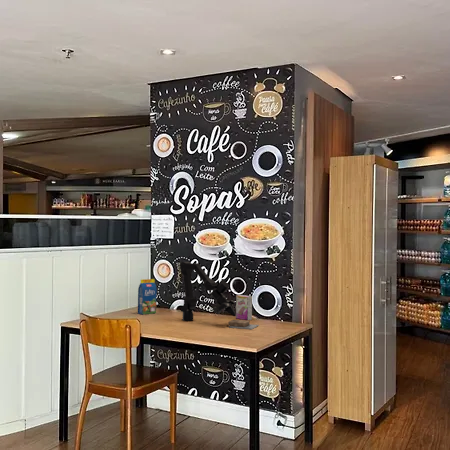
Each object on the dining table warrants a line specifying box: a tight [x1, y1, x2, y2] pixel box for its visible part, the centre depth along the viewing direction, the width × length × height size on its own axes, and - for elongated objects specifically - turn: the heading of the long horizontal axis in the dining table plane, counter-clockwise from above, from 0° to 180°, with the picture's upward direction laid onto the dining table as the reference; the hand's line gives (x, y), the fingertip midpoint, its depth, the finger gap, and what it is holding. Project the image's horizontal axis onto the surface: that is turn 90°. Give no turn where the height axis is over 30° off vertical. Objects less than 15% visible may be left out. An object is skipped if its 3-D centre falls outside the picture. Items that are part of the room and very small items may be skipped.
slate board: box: [228, 323, 260, 330], centre depth 365 cm, size 15×16×1 cm
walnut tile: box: [227, 319, 251, 327], centre depth 366 cm, size 3×10×11 cm
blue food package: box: [137, 278, 158, 315], centre depth 416 cm, size 6×12×25 cm, turn 130°
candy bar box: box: [235, 294, 253, 321], centre depth 398 cm, size 11×5×16 cm, turn 47°
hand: (235, 315), depth 367 cm, fingers closed
